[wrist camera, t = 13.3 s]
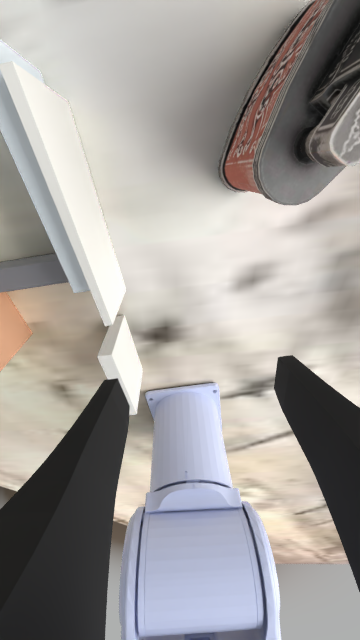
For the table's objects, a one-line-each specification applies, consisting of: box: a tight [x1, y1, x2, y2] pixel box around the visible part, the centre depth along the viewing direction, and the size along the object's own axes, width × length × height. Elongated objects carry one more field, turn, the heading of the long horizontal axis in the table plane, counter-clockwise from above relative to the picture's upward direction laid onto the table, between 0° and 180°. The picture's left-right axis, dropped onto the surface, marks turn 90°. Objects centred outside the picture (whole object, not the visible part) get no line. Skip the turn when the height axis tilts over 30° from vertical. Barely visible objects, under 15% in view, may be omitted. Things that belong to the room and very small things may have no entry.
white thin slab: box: [0, 61, 143, 415], centre depth 15 cm, size 20×2×5 cm, turn 8°
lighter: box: [218, 0, 360, 205], centre depth 8 cm, size 8×3×10 cm, turn 151°
